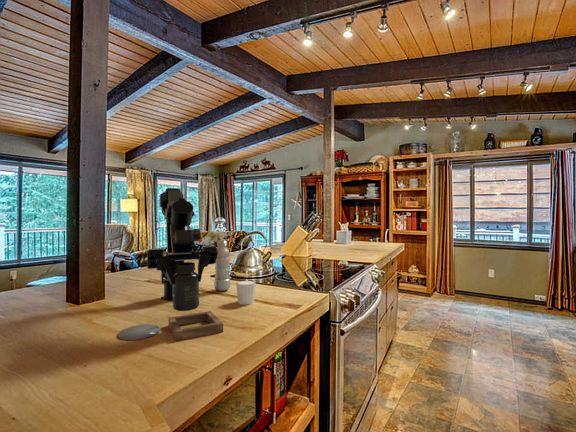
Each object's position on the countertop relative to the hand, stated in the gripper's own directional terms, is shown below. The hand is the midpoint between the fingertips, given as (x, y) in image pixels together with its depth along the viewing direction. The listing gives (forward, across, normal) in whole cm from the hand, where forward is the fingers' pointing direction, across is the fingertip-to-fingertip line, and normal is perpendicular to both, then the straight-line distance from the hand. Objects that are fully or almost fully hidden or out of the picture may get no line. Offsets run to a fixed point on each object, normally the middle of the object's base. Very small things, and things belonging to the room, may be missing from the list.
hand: (186, 282), depth 84 cm
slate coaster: (+6, -11, +12) cm, 18 cm away
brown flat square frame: (+9, +2, +10) cm, 13 cm away
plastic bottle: (-17, +19, +37) cm, 45 cm away
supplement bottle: (+4, 0, +6) cm, 7 cm away
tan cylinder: (-4, +23, +23) cm, 33 cm away
